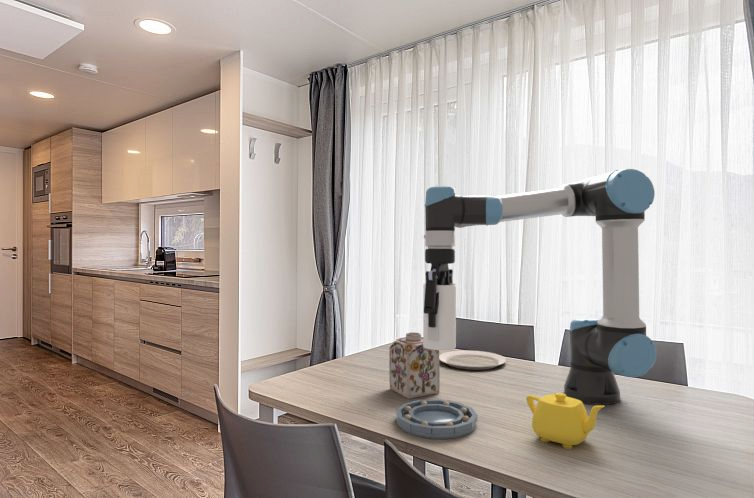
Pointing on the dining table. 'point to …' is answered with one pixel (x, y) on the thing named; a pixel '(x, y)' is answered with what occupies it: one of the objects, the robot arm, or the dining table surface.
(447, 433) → the tray
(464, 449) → the dining table surface
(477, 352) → the plate
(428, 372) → the decorative jar
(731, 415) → the dining table surface
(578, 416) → the teapot
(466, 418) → the beads
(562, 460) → the dining table surface
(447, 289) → the cup
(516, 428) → the dining table surface
